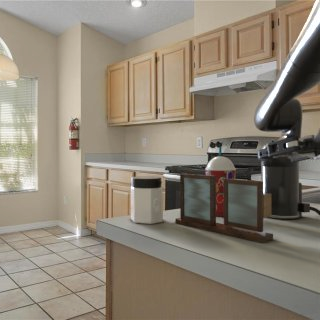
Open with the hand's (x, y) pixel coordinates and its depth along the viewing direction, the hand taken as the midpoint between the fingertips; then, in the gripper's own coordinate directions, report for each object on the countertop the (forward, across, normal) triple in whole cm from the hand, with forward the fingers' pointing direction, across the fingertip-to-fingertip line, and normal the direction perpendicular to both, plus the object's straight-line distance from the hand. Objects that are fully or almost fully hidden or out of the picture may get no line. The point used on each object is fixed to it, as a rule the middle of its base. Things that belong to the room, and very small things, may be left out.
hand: (275, 156), depth 68 cm
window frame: (+16, +3, +15) cm, 22 cm away
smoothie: (+31, -10, +11) cm, 34 cm away
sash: (+11, -1, +14) cm, 18 cm away
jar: (+32, +13, +12) cm, 37 cm away
